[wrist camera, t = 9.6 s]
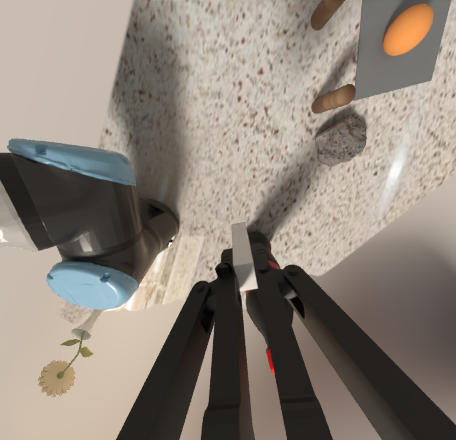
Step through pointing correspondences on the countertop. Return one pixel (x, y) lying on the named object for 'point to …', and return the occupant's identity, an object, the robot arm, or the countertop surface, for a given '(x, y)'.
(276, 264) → the cola bottle
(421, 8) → the ball
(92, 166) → the robot arm
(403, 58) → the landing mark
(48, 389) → the flower in vase
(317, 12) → the post
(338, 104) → the post
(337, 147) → the rock
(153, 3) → the countertop surface
